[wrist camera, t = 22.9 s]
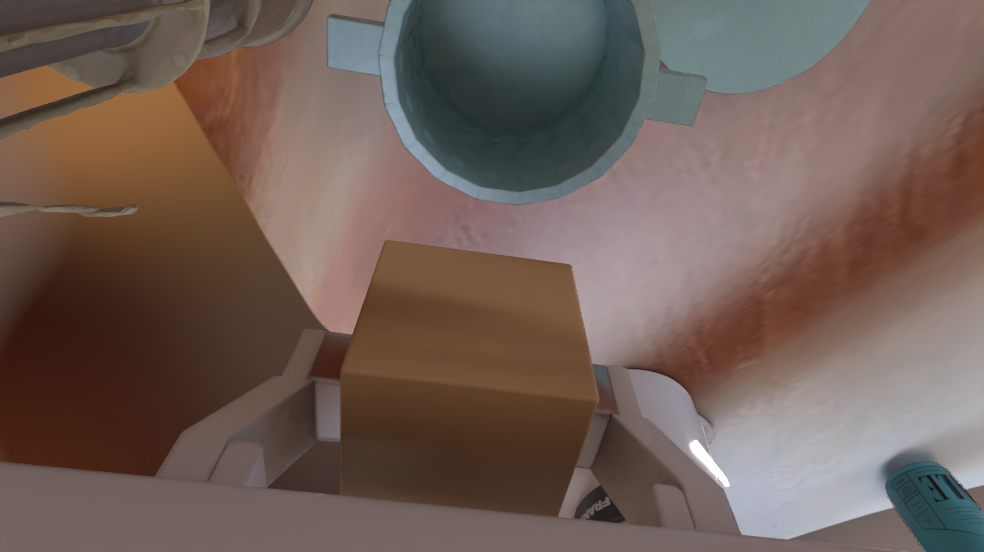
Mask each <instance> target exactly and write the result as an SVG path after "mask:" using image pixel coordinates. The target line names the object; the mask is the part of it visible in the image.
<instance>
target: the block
mask: <svg viewBox="0 0 984 552" xmlns="http://www.w3.org/2000/svg"><path fill="white" fill-rule="evenodd" d="M599 400H600V399H599V394H598V390H597V385H596V380H595V375H594V371H593V366H592V361H591V356H590V352H589V347H588V342H587V337H586V333H585V328H584V323H583V318H582V314H581V309H580V304H579V299H578V295H577V290H576V285H575V280H574V276H573V271H572V266H571V265H569V264H563V263H556V262H548V261H541V260H533V259H526V258H518V257H511V256H503V255H496V254H488V253H481V252H473V251H466V250H458V249H451V248H443V247H436V246H428V245H421V244H413V243H405V242H398V241H390V240H387V241H385V242H384V245H383V247H382V250H381V253H380V256H379V259H378V262H377V265H376V268H375V271H374V274H373V277H372V279H371V282H370V285H369V288H368V291H367V294H366V297H365V300H364V303H363V306H362V309H361V311H360V314H359V317H358V320H357V323H356V326H355V329H354V332H353V335H352V338H351V341H350V344H349V346H348V349H347V352H346V355H345V358H344V361H343V364H342V367H341V370H340V495H342V496H352V497H362V498H372V499H382V500H392V501H402V502H413V503H423V504H433V505H443V506H453V507H463V508H474V509H484V510H494V511H504V512H514V513H524V514H534V515H544V516H554V517H558V515H559V512H560V510H561V507H562V504H563V501H564V498H565V496H566V493H567V490H568V487H569V484H570V481H571V479H572V476H573V473H574V470H575V467H576V465H577V462H578V459H579V456H580V453H581V451H582V448H583V445H584V442H585V439H586V436H587V434H588V431H589V428H590V425H591V422H592V420H593V417H594V414H595V411H596V408H597V406H598V403H599Z"/></svg>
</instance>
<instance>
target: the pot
mask: <svg viewBox="0 0 984 552" xmlns="http://www.w3.org/2000/svg"><path fill="white" fill-rule="evenodd" d="M660 56H661V43H660V38H659V33H658V29H657V24H656V19H655V15H654V10H653V5H652V1H651V0H390V3H389V4H388V8H387V13H386V18H385V22H379V21H373V20H367V19H361V18H355V17H349V16H343V15H337V14H332V15H330V16H328V17H327V66H328V68H332V69H338V70H345V71H351V72H357V73H363V74H370V75H376V76H380V77H381V85H382V93H383V101H384V106H385V108H386V110H387V112H388V114H389V116H390V118H391V120H392V122H393V124H394V126H395V128H396V130H397V132H398V134H399V136H400V138H401V141H402V143H403V145H404V146H405V148H406V149H407V150H408V151H409V152H410V153H411V154H412V155H413V156H414V157H415V158H416V159H417V160H418V161H419V162H420V163H421V164H422V165H423V166H424V167H425V168H426V169H427V170H428V171H429V172H430V173H431V174H432V175H433V176H434V177H435V178H436V179H438V180H439V181H441V182H443V183H445V184H447V185H449V186H451V187H453V188H455V189H457V190H459V191H461V192H463V193H465V194H467V195H469V196H471V197H473V198H476V199H479V200H485V201H492V202H499V203H506V204H513V205H523V204H529V203H534V202H540V201H546V200H552V199H557V198H561V197H563V196H565V195H567V194H569V193H571V192H573V191H575V190H577V189H579V188H580V187H582V186H584V185H586V184H588V183H590V182H592V181H594V180H596V179H597V178H599V177H601V176H602V175H603V174H604V173H605V172H606V171H607V170H608V169H609V168H610V167H611V166H612V165H613V164H614V163H615V162H616V161H617V160H618V159H619V157H620V156H621V155H622V154H623V153H624V152H625V151H626V150H627V149H628V148H629V147H630V146H631V145H632V144H633V142H634V140H635V138H636V136H637V134H638V132H639V130H640V128H641V126H642V124H643V122H644V120H645V119H649V120H655V121H662V122H668V123H674V124H680V125H687V126H693V124H694V121H695V118H696V115H697V112H698V110H699V107H700V104H701V101H702V98H703V96H704V93H705V90H706V87H707V84H708V81H709V80H708V79H707V78H705V77H704V76H703V75H697V74H691V73H685V72H679V71H673V70H667V69H661V68H659V64H660Z"/></svg>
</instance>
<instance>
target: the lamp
mask: <svg viewBox="0 0 984 552" xmlns="http://www.w3.org/2000/svg"><path fill="white" fill-rule="evenodd" d="M311 2H312V0H0V78H1V77H4V76H8V75H12V74H15V73H19V72H23V71H26V70H30V69H33V68H37V67H41V66H45V65H48V66H50V67H51V68H53V69H55V70H56V71H58V72H60V73H61V74H63V75H65V76H66V77H68V78H70V79H73V80H76V81H79V82H82V83H84V84H87V85H90V86H93V87H95V89H92V90H89V91H86V92H82V93H79V94H76V95H73V96H70V97H67V98H64V99H61V100H58V101H55V102H51V103H48V104H45V105H42V106H39V107H36V108H32V109H29V110H26V111H23V112H20V113H17V114H15V115H12V116H8V117H6V118H3V119H0V139H3V138H5V137H8V136H10V135H12V134H14V133H16V132H18V131H20V130H22V129H28V128H30V127H32V126H34V125H36V124H37V123H39V122H42V121H45V120H49V119H52V118H55V117H59V116H64V115H67V114H69V113H72V112H74V111H76V110H78V109H80V108H85V107H89V106H93V105H96V104H99V103H101V102H104V101H106V100H109V99H111V98H113V97H115V96H117V95H119V94H121V93H144V92H147V91H151V90H154V89H158V88H161V87H164V86H166V85H168V84H169V83H171V82H173V81H174V80H176V79H177V78H179V77H180V76H182V75H183V74H184V73H185V72H186V71H187V70H188V69H189V67H190V66H191V65H192V64H193V62H194V61H195V59H204V58H211V57H217V56H220V55H222V54H225V53H227V52H230V51H232V50H234V49H236V48H239V47H241V46H243V47H252V48H257V47H260V46H263V45H266V44H269V43H272V42H274V41H276V40H278V39H280V38H281V37H283V36H285V35H286V34H288V33H289V32H290V31H292V30H293V29H295V28H296V26H297V25H298V24H299V23H300V22H301V21H302V20H303V18H304V17H305V15H306V13H307V12H308V10H309V7H310V5H311ZM100 208H101V207H91V206H83V205H60V206H59V205H58V206H46V207H38V206H32V205H27V204H22V203H16V202H0V217H2V216H7V215H13V214H17V213H21V212H26V211H30V210H35V209H36V210H38V211H41V212H78V214H81V215H85V216H88V217H96V216H106V217H114V216H117V215H129V214H132V213H135V212H136V211H137V210H138V207H137V206H136V204H134V205H130V206H126V207H118V208H103V209H100Z"/></svg>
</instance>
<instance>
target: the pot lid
mask: <svg viewBox="0 0 984 552" xmlns="http://www.w3.org/2000/svg"><path fill="white" fill-rule="evenodd" d="M651 1H652V5H653V10H654V15H655V19H656V24H657V29H658V33H659V38H660V43H661V56H660V61H661V62H662V63H663V64H664V65H665V66H666V67H667V68H668V69H669V70H673V71H679V72H685V73H691V74H697V75H703V76H704V77H705V78H707V79H708V80H709V81H708V84H707V87H706V90H707V91H711V92H716V93H725V94H741V93H750V92H755V91H761V90H764V89H767V88H771V87H774V86H777V85H779V84H781V83H784V82H786V81H788V80H791V79H792V78H794V77H796V76H798V75H799V74H801V73H803V72H805V71H806V70H808V69H809V68H811V67H812V66H813V65H815V64H816V63H818V62H819V61H820V60H821V59H823V58H824V57H825V56H826V55H827V54H828V53H830V52H831V51H832V50H833V49H834V48H835V47H836V46H837V45H838V44H839V43H840V42H841V41H842V40H843V38H844V37H845V36H846V35H847V34H848V33H849V31H850V30H851V29H852V27H853V26H854V25H855V24H856V22H857V21H858V19H859V18H860V16H861V15H862V13H863V12H864V10H865V9H866V7H867V5H868V3H869V1H870V0H651Z"/></svg>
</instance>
